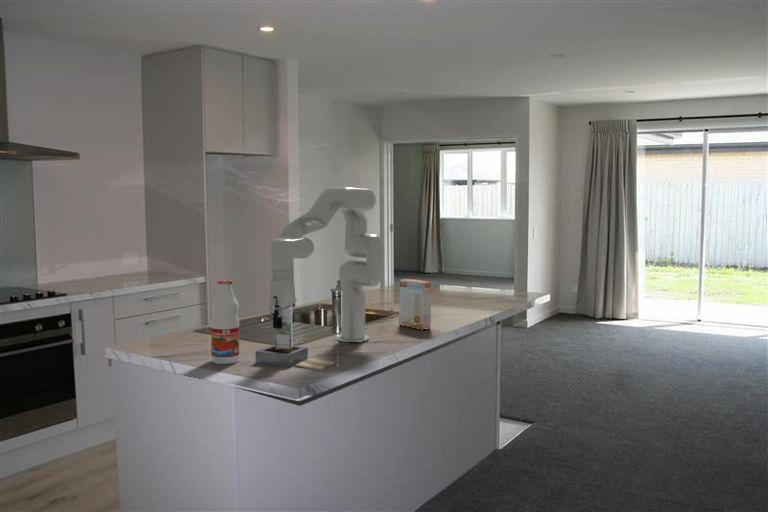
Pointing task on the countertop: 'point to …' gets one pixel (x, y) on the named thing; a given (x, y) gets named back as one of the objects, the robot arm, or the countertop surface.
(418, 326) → the cracker box
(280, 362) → the frame
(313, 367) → the cork coaster
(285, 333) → the syrup box
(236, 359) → the fruit juice
